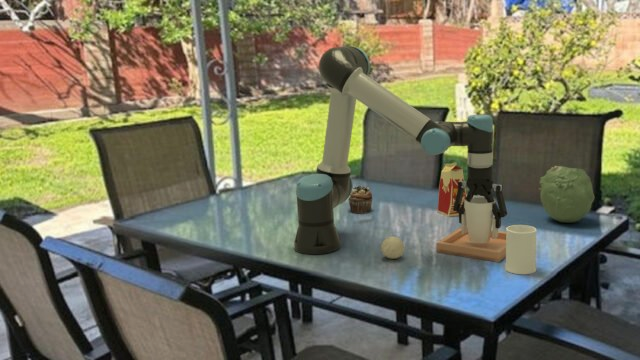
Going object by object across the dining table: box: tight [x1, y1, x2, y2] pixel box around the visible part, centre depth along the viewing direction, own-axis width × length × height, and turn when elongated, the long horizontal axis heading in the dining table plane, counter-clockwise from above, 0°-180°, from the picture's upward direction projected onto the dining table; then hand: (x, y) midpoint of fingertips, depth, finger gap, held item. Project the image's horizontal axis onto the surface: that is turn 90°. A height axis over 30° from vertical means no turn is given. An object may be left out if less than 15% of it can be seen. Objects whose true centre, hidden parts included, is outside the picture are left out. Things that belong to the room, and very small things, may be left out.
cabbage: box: [538, 165, 595, 224], centre depth 218 cm, size 16×19×20 cm
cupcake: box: [347, 185, 374, 214], centre depth 247 cm, size 10×10×10 cm
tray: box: [436, 226, 506, 263], centre depth 198 cm, size 20×20×3 cm
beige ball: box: [380, 236, 405, 260], centre depth 192 cm, size 7×7×7 cm
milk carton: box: [437, 162, 467, 218], centre depth 237 cm, size 9×9×20 cm
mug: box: [504, 224, 537, 275], centre depth 178 cm, size 12×8×12 cm
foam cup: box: [464, 196, 496, 243], centre depth 196 cm, size 10×9×13 cm
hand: (479, 235), depth 197 cm, fingers closed on foam cup, 9 cm apart
